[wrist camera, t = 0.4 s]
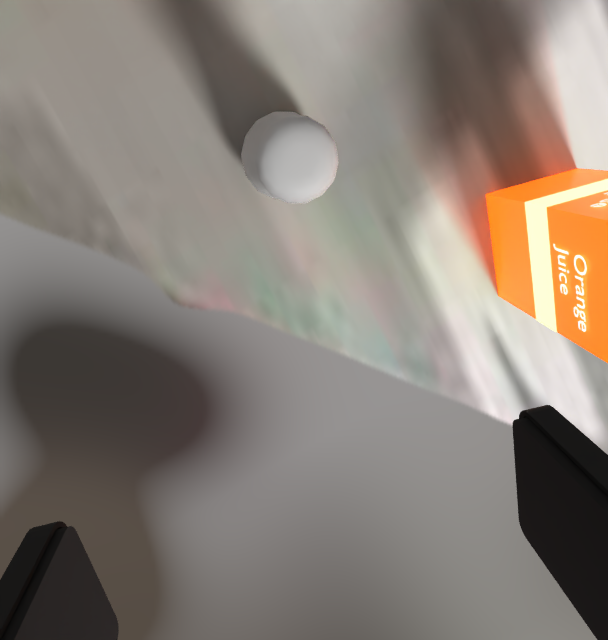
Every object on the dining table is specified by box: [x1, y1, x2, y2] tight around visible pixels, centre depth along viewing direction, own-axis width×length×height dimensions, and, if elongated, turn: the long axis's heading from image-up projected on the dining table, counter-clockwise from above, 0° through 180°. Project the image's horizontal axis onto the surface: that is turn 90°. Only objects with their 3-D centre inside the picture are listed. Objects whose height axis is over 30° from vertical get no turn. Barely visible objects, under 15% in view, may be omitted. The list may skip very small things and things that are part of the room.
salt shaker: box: [241, 111, 339, 203], centre depth 31 cm, size 6×6×13 cm
